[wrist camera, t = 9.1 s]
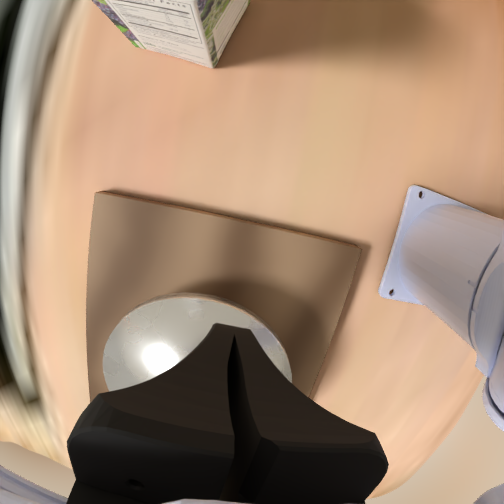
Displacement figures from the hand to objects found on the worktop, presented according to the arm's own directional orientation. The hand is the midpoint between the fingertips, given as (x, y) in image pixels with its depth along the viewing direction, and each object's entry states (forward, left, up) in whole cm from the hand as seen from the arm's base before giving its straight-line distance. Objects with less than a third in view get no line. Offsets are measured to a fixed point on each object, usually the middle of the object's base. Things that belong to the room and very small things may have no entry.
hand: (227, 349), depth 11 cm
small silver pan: (+2, +9, -9) cm, 13 cm away
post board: (+1, +7, -10) cm, 12 cm away
